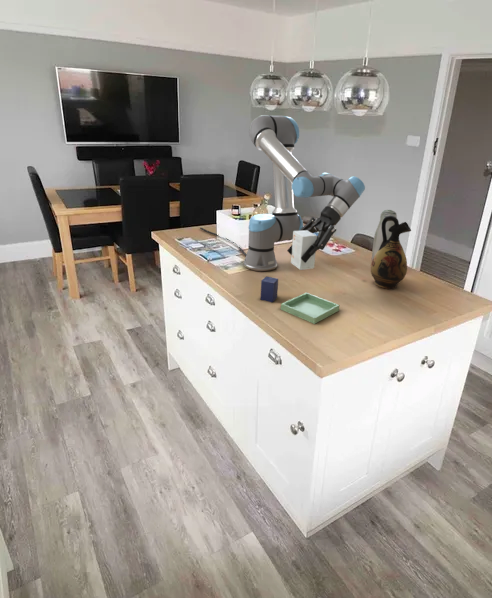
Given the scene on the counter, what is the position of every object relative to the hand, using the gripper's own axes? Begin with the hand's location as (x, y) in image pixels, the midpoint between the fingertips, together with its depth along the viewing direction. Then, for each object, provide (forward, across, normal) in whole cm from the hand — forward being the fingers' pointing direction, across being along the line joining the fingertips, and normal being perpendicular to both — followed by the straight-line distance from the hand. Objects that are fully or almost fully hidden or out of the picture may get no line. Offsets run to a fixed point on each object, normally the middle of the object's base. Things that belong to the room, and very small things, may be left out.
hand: (296, 256), depth 158 cm
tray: (+12, -13, -11) cm, 21 cm away
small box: (+1, 0, -5) cm, 5 cm away
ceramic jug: (-19, -6, -43) cm, 48 cm away
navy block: (+19, +2, -5) cm, 19 cm away
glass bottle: (-30, +12, -54) cm, 62 cm away
